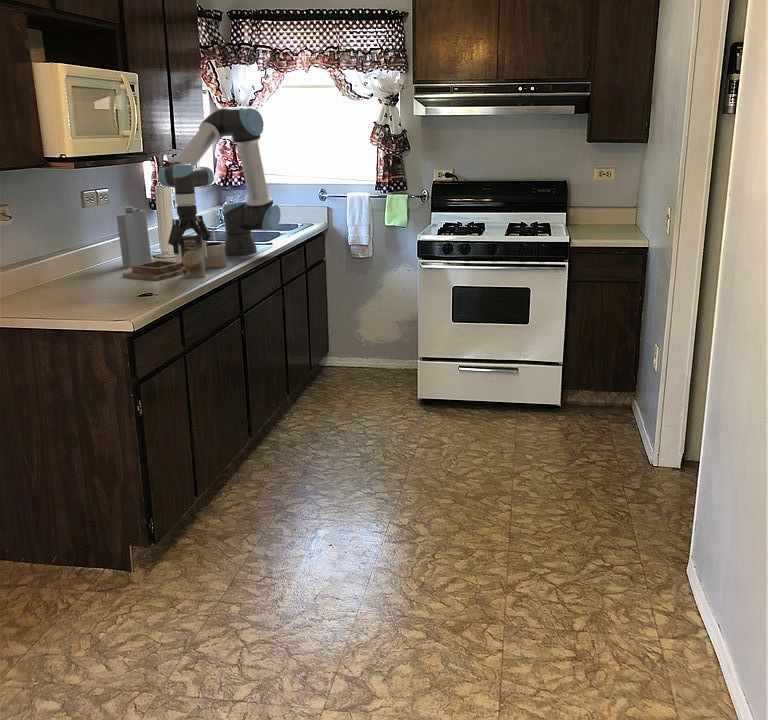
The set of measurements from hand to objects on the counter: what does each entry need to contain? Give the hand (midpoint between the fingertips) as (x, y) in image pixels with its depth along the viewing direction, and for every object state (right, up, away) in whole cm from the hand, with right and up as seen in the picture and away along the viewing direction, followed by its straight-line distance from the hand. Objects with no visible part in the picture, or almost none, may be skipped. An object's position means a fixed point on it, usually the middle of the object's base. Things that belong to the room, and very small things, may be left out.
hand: (191, 259), depth 317 cm
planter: (+4, -1, +22) cm, 22 cm away
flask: (-32, +2, +34) cm, 47 cm away
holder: (-16, -5, +10) cm, 19 cm away
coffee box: (0, -7, +2) cm, 7 cm away
